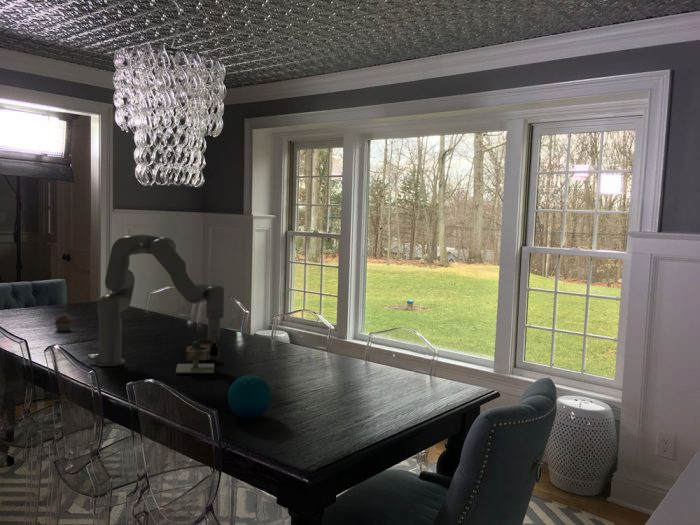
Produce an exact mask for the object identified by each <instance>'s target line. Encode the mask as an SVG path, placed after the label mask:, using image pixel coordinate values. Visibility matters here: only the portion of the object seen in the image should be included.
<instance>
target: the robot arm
mask: <svg viewBox="0 0 700 525" xmlns="http://www.w3.org/2000/svg"><path fill="white" fill-rule="evenodd" d="M176 250H177V246H176V243H175V242H174V240H173V239H171V238H169V237H165V236H164V237H163V236H155V235H148V234H132V235H131V234H129V235H125V236H123V237H120V238H117V240H115V242H113V244H112V246H111V249H110V256H109V261H108V264H107V269H106V275H105V278H104V285H105V287H106V289H107V290H108V291H111V292H110V293H106V294H105V295H103V296H101V297H100V298H99V299H98V302H97V306H96V308H97V314H98V353H96V354H88V356H87V360H91V361H92V360H94V365H95V366H97V365H98V366H97V367H101V366H114V367H118V366H117V365H120V366H122V365H121V364H123V365H125V363H126V359H124V358H122V339H123V336H122V334H123V332H122V331H123V322H122V321H123V320H122V316H121V312H124V311H126V310H128V309H129V307H130V305H131V302H132V298H133V292H134V289H135V288H134V287H135V283H136V279H135V275H134V273H133V272H132V270H131V269H130V268H129V267H130V256H133V255H139V254H140V255H141V254H147V255H152V256H153V257H154V258H155V259H156V260H157V262H158V263H159V264H160V265H161V266H162V267H163V268H164V270H165V271H166V272H167V273H168V275H169V276H170V279H171V281H172V283H173V285H174V288H175V289H176V290H177V291H178V293H179V294H180V295H181V297H183V298H184V300H185V301H187V302H188V303H189V304H198V303H201V302H203V301H206V302H205V303H206V304H205V305H206V306H205V309H206V310H205V318H206V319H208V320H207V340H208V341H209V340H211V345H210V356H217V355H218V347H219V346H218V341H219V340H220V335H221V321H222V320H221V319H223V318H224V308H225V306H224V305H225V288H224V287H223V286H221V285H208V284H203V283H198V284H195V283H194V282H193V280H191V278H190V276H189V275H188V273H187V270H186V269H187V265H186V262H185V260H184V259H183V258H182V257H181V256H180V254H179V253H178V252H177V251H176Z"/></svg>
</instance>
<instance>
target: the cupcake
mask: <svg viewBox="0 0 700 525" xmlns="http://www.w3.org/2000/svg"><path fill="white" fill-rule="evenodd" d="M54 324H55V327H56V330H57V332H59V331H60V333H63V332H69V331H70V330H71V327H72V325H73V321H72V319H71V317H70V316H69V315H68V314H66V313H64V312H62V314H61V315H59V316H58V317H56V319H55V321H54Z"/></svg>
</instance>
